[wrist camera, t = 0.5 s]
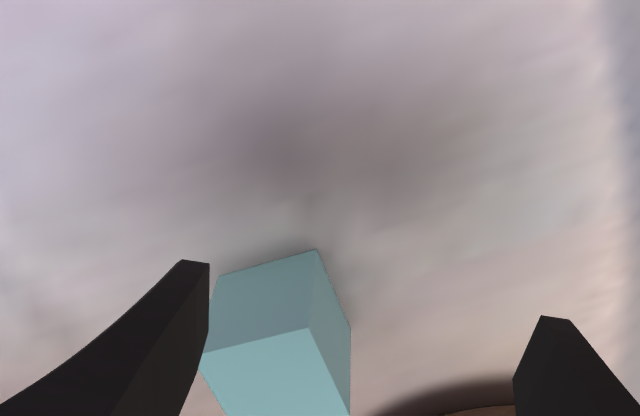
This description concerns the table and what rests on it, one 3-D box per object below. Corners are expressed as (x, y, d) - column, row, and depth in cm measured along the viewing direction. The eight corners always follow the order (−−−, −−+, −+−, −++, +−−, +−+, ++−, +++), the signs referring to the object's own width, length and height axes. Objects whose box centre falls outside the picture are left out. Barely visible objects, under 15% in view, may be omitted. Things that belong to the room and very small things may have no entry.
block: (259, 350, 27) (241, 439, 23) (219, 275, 25) (190, 356, 21) (350, 328, 26) (349, 416, 22) (316, 248, 24) (308, 327, 20)
